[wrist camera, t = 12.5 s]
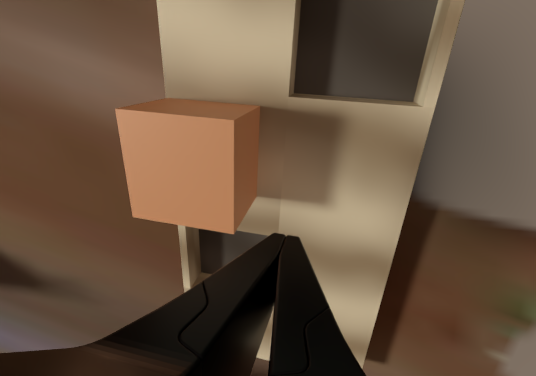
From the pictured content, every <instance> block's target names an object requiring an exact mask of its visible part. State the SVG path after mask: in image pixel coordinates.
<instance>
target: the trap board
mask: <svg viewBox="0 0 536 376" xmlns="http://www.w3.org/2000/svg"><path fill="white" fill-rule="evenodd" d="M464 2H465V0H157V9H158V20H159V30H160V41H161V51H162V62H163V72H164V83H165V94H166V98H175V99H187V100H198V101H210V102H221V103H233V104H245V105H256V106H260V124H259V149H258V175H257V197H256V199H255V200H254V202H253V203H252V205H251V207H250V208H249V210H248V212H247V213H246V215H245V217H244V218H243V220H242V222H241V223H240V225H239V227H238V228H237V230H236V231H235V233H234V234H228V233H223V232H217V231H211V230H205V229H199V228H194V227H188V226H182V225H178V231H179V241H180V252H181V263H182V273H183V284H184V293H185V292H186V291H188V290H189V289H191V288H192V287H194V286H195V285H197V284H198V283H200V282H202V281H203V280H204V279H206V278H207V277H209V276H210V275H212V274H213V273H215V272H216V271H218V270H219V269H221V268H222V267H224V266H225V265H227V264H228V263H229V262H231V261H232V260H234V259H235V258H237V257H238V256H240V255H241V254H243V253H244V252H246V251H247V250H249V249H250V248H252V247H253V246H255V245H256V244H257V243H259V242H260V241H262V240H263V239H265V238H266V237H268V236H269V235H271V234H272V233H280V234H285V235H286V236H287V235H292V236H298V237H300V239H301V242H302V244H303V246H304V248H305V251H306V253H307V255H308V258H309V260H310V262H311V265H312V267H313V269H314V272H315V274H316V276H317V279H318V281H319V283H320V286H321V288H322V290H323V293H324V295H325V297H326V299H327V302H328V304H329V306H330V309H331V311H332V313H333V315H334V318H335V320H336V322H337V324H338V326H339V328H340V330H341V333H342V335H343V337H344V339H345V340H346V342H347V344H348V346H349V347H350V349H351V351H352V353H353V355H354V356H355V358H356V360H357V361H358V363H359V365H360V366H361V368H363V364H364V361H365V357H366V353H367V350H368V346H369V343H370V339H371V335H372V332H373V328H374V325H375V321H376V318H377V314H378V310H379V307H380V303H381V300H382V296H383V293H384V289H385V285H386V282H387V278H388V275H389V271H390V267H391V264H392V260H393V257H394V253H395V250H396V246H397V242H398V239H399V235H400V232H401V228H402V225H403V221H404V217H405V214H406V210H407V207H408V203H409V199H410V196H411V192H412V189H413V185H414V182H415V178H416V174H417V171H418V167H419V164H420V160H421V156H422V153H423V149H424V146H425V142H426V139H427V135H428V131H429V128H430V124H431V121H432V117H433V114H434V110H435V106H436V103H437V99H438V95H439V92H440V89H441V85H442V81H443V78H444V74H445V71H446V67H447V63H448V60H449V56H450V52H451V49H452V46H453V42H454V38H455V35H456V31H457V28H458V24H459V21H460V17H461V13H462V10H463V6H464ZM273 313H274V308H273V311H272V314H271V317H270V320H269V322H268V325H267V328H266V331H265V334H264V337H263V339H262V342H261V345H260V348H259V351H258V354H257V356H256V357H257V358H261V359H265V360H269V358H270V347H271V336H272V324H273Z"/></svg>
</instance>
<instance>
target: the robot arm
mask: <svg viewBox="0 0 536 376" xmlns="http://www.w3.org/2000/svg"><path fill="white" fill-rule="evenodd" d="M273 308H274V313H273V324H272V336H271V347H270V358H269V370H268V376H366V375H365V373H364V371H363V370H362V368H361V366H360V365H359V363H358V361H357V360H356V358H355V356H354V355H353V353H352V351H351V349H350V347H349V346H348V344H347V342H346V340H345V339H344V337H343V335H342V333H341V330H340V328H339V326H338V324H337V322H336V320H335V318H334V315H333V313H332V311H331V309H330V306H329V304H328V302H327V299H326V297H325V295H324V293H323V290H322V288H321V286H320V283H319V281H318V279H317V276H316V274H315V272H314V269H313V267H312V265H311V262H310V260H309V258H308V255H307V253H306V251H305V248H304V246H303V244H302V242H301V239H300V237H298V236H292V235H287V236H286V235H285V234H280V233H272V234H271V235H269V236H268V237H266V238H265V239H263V240H262V241H260V242H259V243H257V244H256V245H255V246H253V247H252V248H250V249H249V250H247V251H246V252H244V253H243V254H241V255H240V256H238V257H237V258H235V259H234V260H232V261H231V262H229V263H228V264H227V265H225V266H224V267H222V268H221V269H219V270H218V271H216V272H215V273H213V274H212V275H210V276H209V277H207V278H206V279H204V280H203V281H202V282H200V283H198V284H197V285H195V286H194V287H192V288H191V289H189V290H188V291H186V292H185V293H183V294H182V295H180V296H178V297H177V298H175V299H174V300H172V301H170V302H168V303H167V304H165V305H163V306H161V307H160V308H158V309H156V310H154V311H153V312H151V313H149V314H147V315H145V316H143V317H142V318H140V319H138V320H136V321H134V322H132V323H131V324H129V325H127V326H125V327H123V328H121V329H120V330H118V331H116V332H114V333H112V334H110V335H108V336H106V337H104V338H102V339H100V340H98V341H95V342H93V343H90V344H87V345H84V346H79V347H74V348H66V349H52V350H39V351H25V352H12V353H0V376H250V373H251V370H252V368H253V365H254V362H255V359H256V356H257V354H258V351H259V348H260V345H261V342H262V339H263V337H264V334H265V331H266V328H267V325H268V322H269V320H270V317H271V314H272V311H273Z"/></svg>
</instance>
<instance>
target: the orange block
mask: <svg viewBox="0 0 536 376" xmlns="http://www.w3.org/2000/svg"><path fill="white" fill-rule="evenodd" d="M115 111H116V117H117V123H118V129H119V135H120V141H121V147H122V154H123V160H124V166H125V172H126V178H127V184H128V190H129V196H130V202H131V209H132V215H133V217H135V218H141V219H147V220H153V221H159V222H165V223H170V224H176V225H182V226H188V227H194V228H199V229H205V230H211V231H217V232H223V233H228V234H234V233H235V231H236V230H237V228H238V227H239V225H240V223H241V222H242V220H243V218H244V217H245V215H246V213H247V212H248V210H249V208H250V207H251V205H252V203H253V202H254V200H255V199H256V197H257V175H258V149H259V124H260V106H256V105H245V104H233V103H221V102H210V101H198V100H187V99H175V98H165V99H160V100H155V101H150V102H146V103H141V104H136V105H131V106H126V107H121V108H116V109H115Z"/></svg>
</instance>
